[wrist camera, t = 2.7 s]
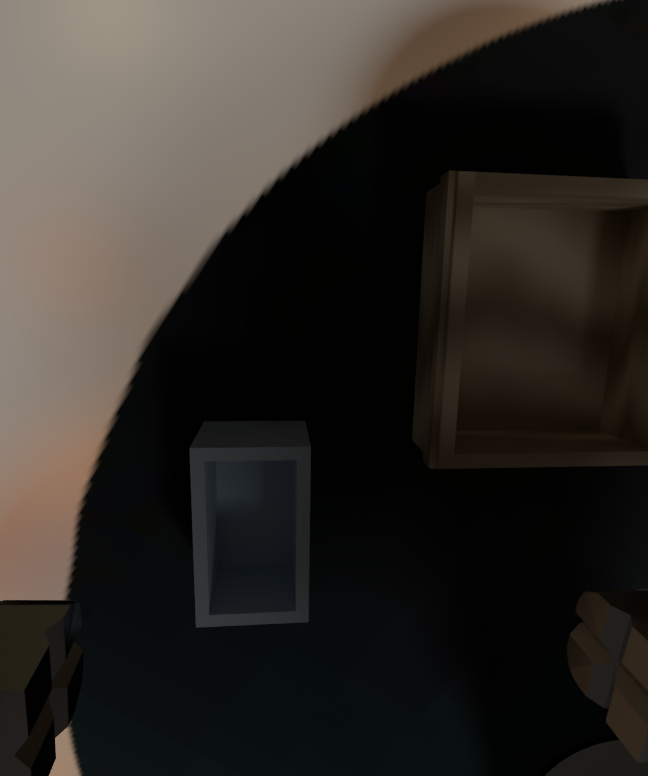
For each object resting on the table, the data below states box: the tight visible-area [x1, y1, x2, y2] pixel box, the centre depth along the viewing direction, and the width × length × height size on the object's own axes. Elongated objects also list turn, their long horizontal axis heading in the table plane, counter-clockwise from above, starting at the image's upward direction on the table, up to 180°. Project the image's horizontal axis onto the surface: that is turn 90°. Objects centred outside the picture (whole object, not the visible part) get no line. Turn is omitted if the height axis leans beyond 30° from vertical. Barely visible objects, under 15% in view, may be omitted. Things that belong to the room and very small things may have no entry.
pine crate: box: [412, 171, 648, 469], centre depth 27 cm, size 15×13×5 cm
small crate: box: [189, 421, 311, 627], centre depth 27 cm, size 10×6×5 cm, turn 179°
